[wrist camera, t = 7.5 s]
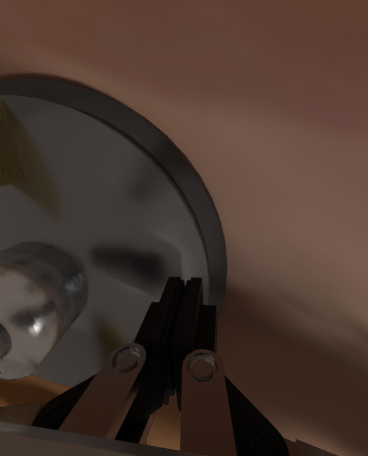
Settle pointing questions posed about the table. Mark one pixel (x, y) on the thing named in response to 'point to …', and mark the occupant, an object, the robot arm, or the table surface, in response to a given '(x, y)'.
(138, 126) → the turntable base
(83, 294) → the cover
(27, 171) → the platter
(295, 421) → the table surface
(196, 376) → the robot arm
